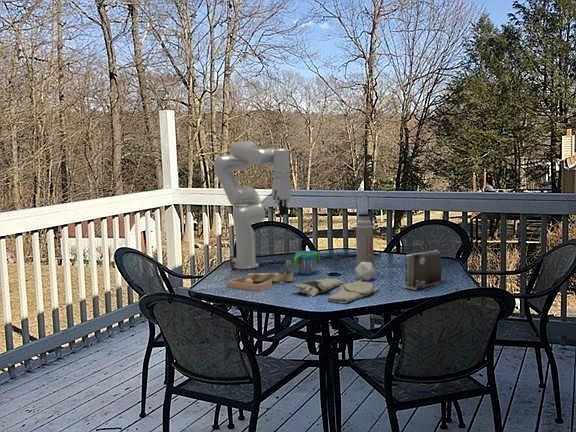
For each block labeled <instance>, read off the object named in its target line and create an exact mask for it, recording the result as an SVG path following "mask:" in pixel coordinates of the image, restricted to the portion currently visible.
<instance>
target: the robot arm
mask: <svg viewBox="0 0 576 432" xmlns="http://www.w3.org/2000/svg"><path fill="white" fill-rule="evenodd" d="M229 153H230V154H225V155H219V156H217V157H216V158H215V160H214V162H213V168H214V173H215V176H216V178H217V179H218V181H219V182H220V185H221V186H222V188H223V191H224V192H225V195H226V197H227V200H228V202H229V204H230V205H231V206H233V207H235V208H234V209H233V211H232V220H233V224H234V232H235V246H236V247H235V248H236V249H235V251H236V257H233V258H232V259H231V262H232V263H234V265H233V267H234V268H235V269H238V270H247V269H248V270H250V269H255V268H258V267H259V263H258V262H256V241H255V231H254V229H253V227H252V224H256V223H257V224H258V223H261V222H264V220H265V219H266V210H265V207H264V205H263V203H262V201H261V199H260V196H259V194H258V192H257V190H256V189H255V188H254V187H251V186H244V187H243V186H241V184H240V182H239V180H238V178H237V176H235V175H234V174H233V173H231V172H237V171H239V172H240V171H244V170H245V169H247V168H248V167H249V165H250V164H252V165H255V166H256V165H257V166H268V165H269V166H270V165H271V166H273V167H272V168H273V172H272V173H273V179H272V185H271V187H272V188H271V199H272V200H274V203H275V204H277V205H278V206H277V207H278V209H279V210H278V211H279V212H278V213H279V215H280V216H282V215H283V216H284V215H287V214H288V211H287V210H288V207H287V206H288V203H289V202H290V201H291V198H292V184H291V183H292V182H291V177H290V176H291V173H290V152H289V149H287V148H259V147H258V146H257V144H256V143H255V142H253V141H237V142H233V143H231V145H230V146H229Z"/></svg>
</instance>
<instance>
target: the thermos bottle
mask: <svg viewBox="0 0 576 432" xmlns="http://www.w3.org/2000/svg"><path fill="white" fill-rule="evenodd" d="M372 224H373V223H372V220H370V214H369V213H359V214H358V220H357V221H356V226H355V246H356V248H355V250H356V254H355V255H356V267H357V266H358V265H359V264H360V263H361V262H371V263H372V265H373V267H374V268H375V262H374V261H375V260H374V259H375V257H374V254H375V253H374V225H372Z"/></svg>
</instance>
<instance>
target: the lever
mask: <svg viewBox="0 0 576 432" xmlns="http://www.w3.org/2000/svg"><path fill="white" fill-rule="evenodd" d="M285 270H286V271H284V269H279V270H278V272H261V273H260V272H259V273H255V272H254V273H253V272H252V273H251V272H250V273H248V274H247V279H248V278H250V279H252V280H253V282H266V281H269V280H272V282H275V281H288V282H293V281H294V275H293V274H294V273H293V260H292V259H286V260H285Z"/></svg>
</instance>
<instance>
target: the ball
mask: <svg viewBox="0 0 576 432" xmlns="http://www.w3.org/2000/svg"><path fill="white" fill-rule="evenodd" d="M244 283H248V284H254V281H253V280H252V279H250V278H248V277H247V278H246V279H245V280H244Z"/></svg>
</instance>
